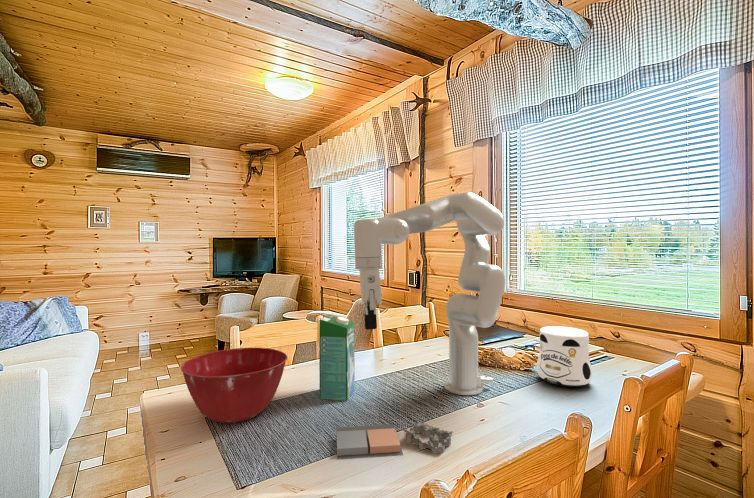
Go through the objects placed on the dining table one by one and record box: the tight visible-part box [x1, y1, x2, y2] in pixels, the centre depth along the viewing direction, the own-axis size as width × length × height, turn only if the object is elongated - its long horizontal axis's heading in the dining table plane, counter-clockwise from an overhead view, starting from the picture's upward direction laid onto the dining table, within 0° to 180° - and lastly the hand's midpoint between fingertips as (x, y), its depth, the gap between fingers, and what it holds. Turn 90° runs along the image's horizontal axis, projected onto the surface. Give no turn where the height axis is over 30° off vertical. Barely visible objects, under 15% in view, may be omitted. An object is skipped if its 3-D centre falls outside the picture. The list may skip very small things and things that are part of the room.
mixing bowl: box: [180, 347, 288, 424], centre depth 110 cm, size 28×28×16 cm
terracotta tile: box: [367, 427, 401, 454], centre depth 91 cm, size 7×2×8 cm
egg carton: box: [402, 422, 453, 454], centre depth 92 cm, size 11×8×4 cm
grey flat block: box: [336, 430, 368, 457], centre depth 90 cm, size 7×2×8 cm
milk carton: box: [318, 314, 356, 402], centre depth 123 cm, size 9×9×25 cm
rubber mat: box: [336, 423, 404, 460], centre depth 93 cm, size 15×15×1 cm
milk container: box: [536, 325, 593, 388], centre depth 134 cm, size 17×17×18 cm
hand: (370, 328), depth 108 cm, fingers closed
